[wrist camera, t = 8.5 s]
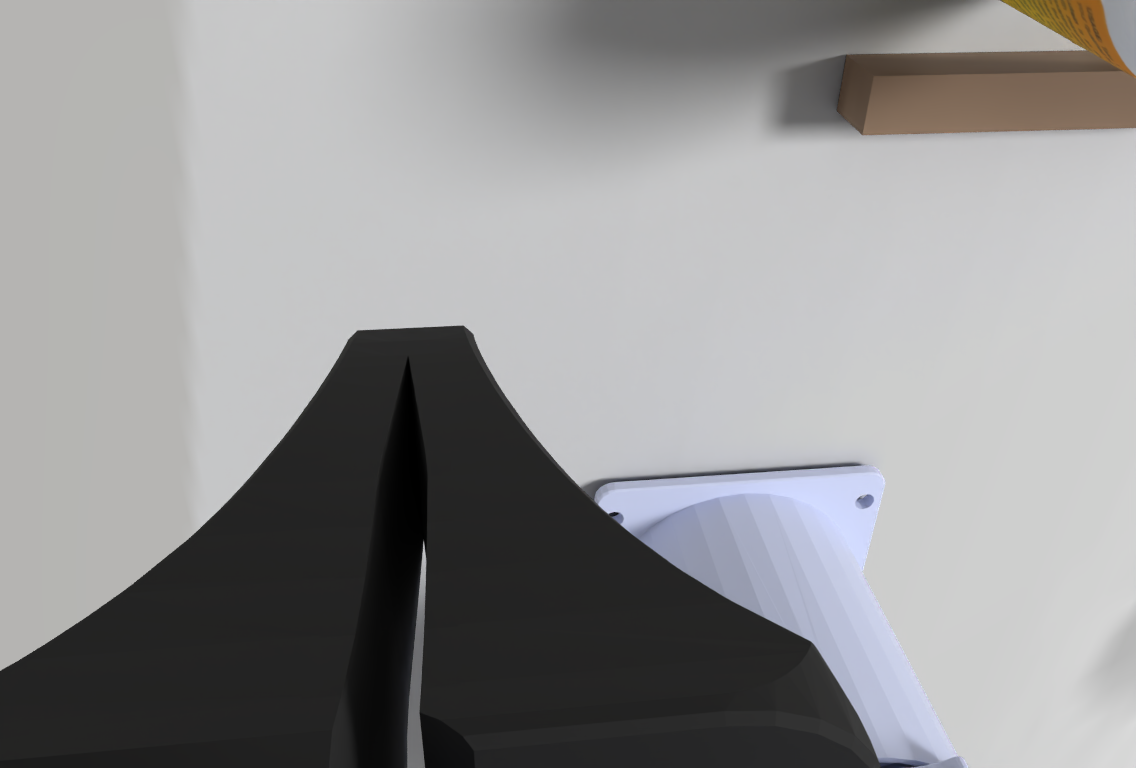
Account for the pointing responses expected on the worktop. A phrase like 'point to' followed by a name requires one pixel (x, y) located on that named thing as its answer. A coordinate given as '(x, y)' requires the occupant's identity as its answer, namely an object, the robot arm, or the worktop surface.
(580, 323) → the worktop surface
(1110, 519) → the worktop surface
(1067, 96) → the walnut stop
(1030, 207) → the worktop surface
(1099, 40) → the supplement bottle
